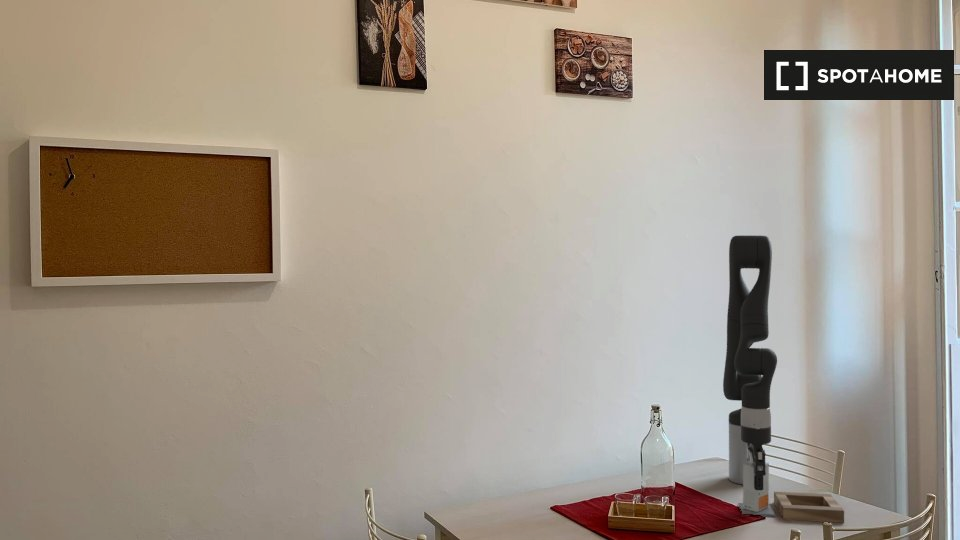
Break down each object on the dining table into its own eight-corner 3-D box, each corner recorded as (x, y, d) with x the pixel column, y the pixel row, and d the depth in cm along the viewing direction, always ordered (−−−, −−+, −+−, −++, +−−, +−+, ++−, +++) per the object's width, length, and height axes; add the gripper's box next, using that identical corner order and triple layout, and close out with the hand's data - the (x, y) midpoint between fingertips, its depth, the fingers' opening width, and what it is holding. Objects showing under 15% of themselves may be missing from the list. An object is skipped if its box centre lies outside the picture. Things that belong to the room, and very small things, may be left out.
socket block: (774, 502, 209) (773, 491, 209) (830, 505, 206) (830, 494, 206) (783, 519, 196) (783, 507, 196) (844, 522, 193) (844, 510, 193)
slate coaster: (738, 505, 207) (738, 502, 207) (769, 506, 206) (769, 504, 206) (742, 515, 200) (742, 512, 200) (775, 516, 198) (775, 514, 198)
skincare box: (757, 512, 199) (757, 467, 199) (742, 508, 202) (742, 463, 202) (769, 507, 203) (769, 462, 203) (754, 503, 206) (754, 459, 206)
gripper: (737, 417, 210) (737, 476, 210) (744, 429, 196) (745, 492, 196) (766, 418, 208) (766, 477, 209) (775, 430, 194) (776, 493, 195)
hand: (756, 484), depth 203 cm, fingers open, 8 cm apart
